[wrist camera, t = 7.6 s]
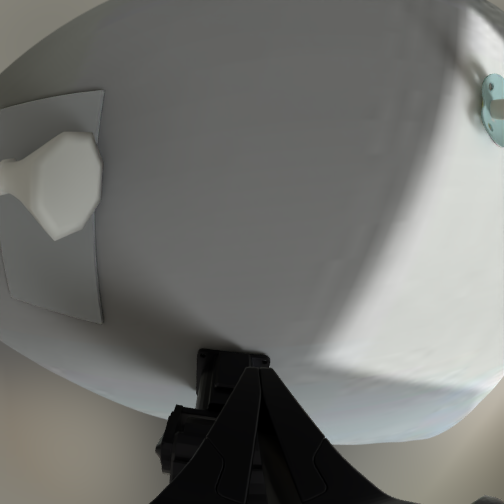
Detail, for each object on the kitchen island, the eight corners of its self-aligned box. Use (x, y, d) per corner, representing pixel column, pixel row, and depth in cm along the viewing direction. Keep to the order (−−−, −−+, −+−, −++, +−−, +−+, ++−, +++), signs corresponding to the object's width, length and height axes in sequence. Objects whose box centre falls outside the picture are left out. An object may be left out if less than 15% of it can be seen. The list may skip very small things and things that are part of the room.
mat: (103, 322, 23) (102, 324, 22) (13, 296, 22) (11, 297, 22) (104, 90, 16) (102, 89, 16) (3, 109, 15) (0, 109, 15)
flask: (102, 116, 15) (28, 123, 16) (22, 153, 10) (-34, 156, 11) (112, 205, 20) (40, 193, 21) (52, 261, 14) (-11, 233, 15)
